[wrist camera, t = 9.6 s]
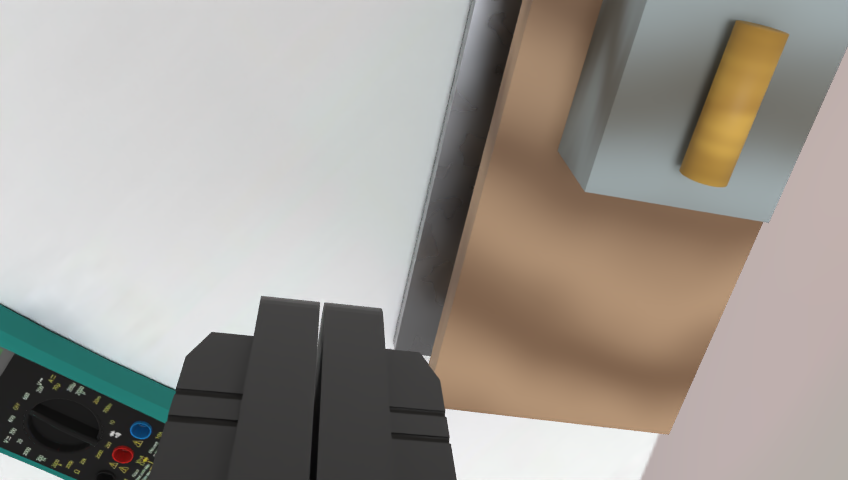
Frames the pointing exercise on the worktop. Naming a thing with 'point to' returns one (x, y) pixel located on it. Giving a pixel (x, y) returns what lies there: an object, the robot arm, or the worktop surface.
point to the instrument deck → (625, 199)
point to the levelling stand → (455, 169)
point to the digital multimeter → (75, 407)
